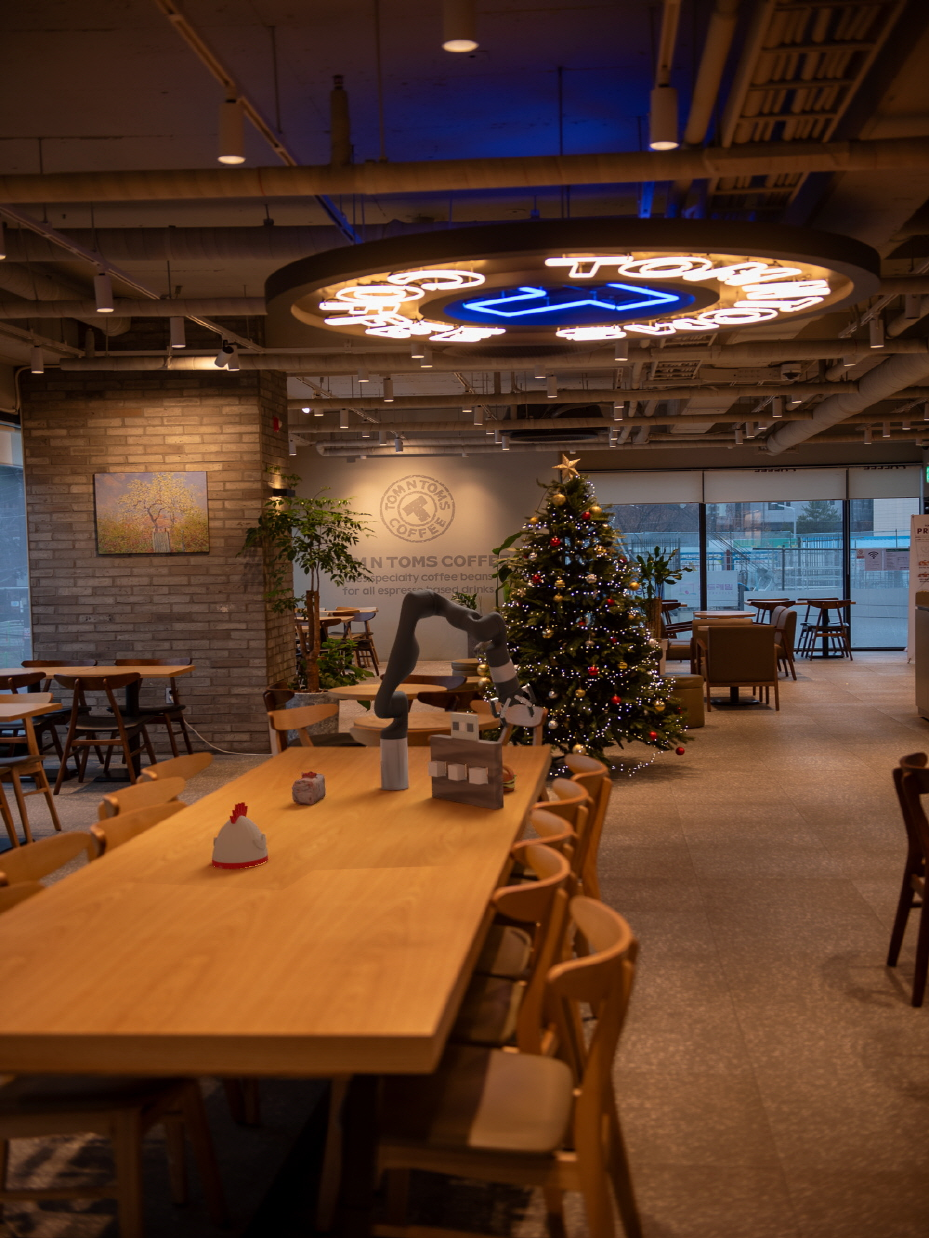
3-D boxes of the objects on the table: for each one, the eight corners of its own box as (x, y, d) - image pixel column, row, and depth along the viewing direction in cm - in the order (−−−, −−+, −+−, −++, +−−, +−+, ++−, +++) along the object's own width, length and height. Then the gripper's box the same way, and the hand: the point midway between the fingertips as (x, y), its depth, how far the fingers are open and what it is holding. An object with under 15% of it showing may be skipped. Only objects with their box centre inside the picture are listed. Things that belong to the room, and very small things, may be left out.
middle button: (457, 780, 335) (457, 766, 334) (448, 778, 338) (448, 765, 338) (465, 779, 337) (465, 765, 337) (456, 777, 340) (456, 763, 340)
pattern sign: (475, 741, 334) (474, 715, 334) (450, 737, 343) (449, 712, 343) (479, 740, 335) (478, 715, 335) (454, 737, 344) (453, 712, 344)
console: (494, 809, 327) (492, 744, 327) (432, 796, 350) (430, 735, 350) (503, 807, 330) (501, 742, 330) (441, 794, 353) (439, 734, 352)
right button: (478, 784, 327) (478, 770, 327) (469, 782, 330) (468, 768, 330) (487, 782, 329) (486, 768, 329) (477, 781, 333) (477, 766, 333)
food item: (314, 806, 341) (313, 775, 340) (290, 806, 342) (289, 775, 342) (327, 797, 354) (326, 768, 354) (304, 797, 356) (303, 768, 355)
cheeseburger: (517, 786, 364) (516, 758, 361) (516, 799, 354) (515, 771, 351) (487, 785, 365) (486, 758, 362) (485, 799, 355) (484, 771, 352)
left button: (437, 776, 342) (436, 763, 342) (428, 775, 345) (428, 761, 345) (445, 775, 344) (445, 761, 344) (436, 773, 348) (436, 760, 348)
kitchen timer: (277, 856, 277) (275, 798, 276) (252, 870, 264) (250, 809, 263) (228, 854, 281) (226, 797, 280) (202, 868, 267) (199, 808, 267)
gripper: (521, 663, 332) (536, 709, 337) (479, 680, 330) (494, 726, 335) (529, 670, 325) (543, 717, 330) (485, 687, 323) (501, 734, 328)
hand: (518, 721), depth 333 cm, fingers open, 8 cm apart
